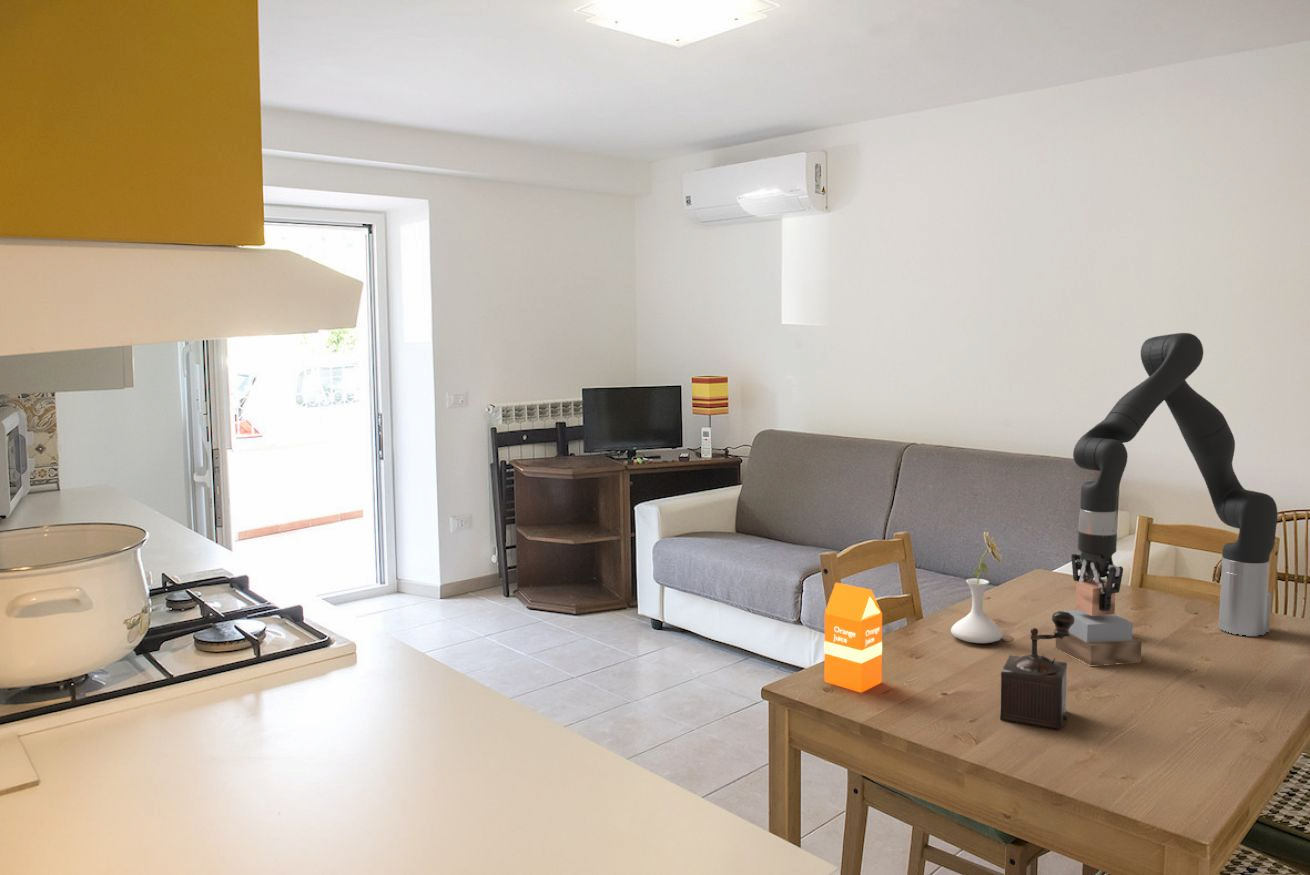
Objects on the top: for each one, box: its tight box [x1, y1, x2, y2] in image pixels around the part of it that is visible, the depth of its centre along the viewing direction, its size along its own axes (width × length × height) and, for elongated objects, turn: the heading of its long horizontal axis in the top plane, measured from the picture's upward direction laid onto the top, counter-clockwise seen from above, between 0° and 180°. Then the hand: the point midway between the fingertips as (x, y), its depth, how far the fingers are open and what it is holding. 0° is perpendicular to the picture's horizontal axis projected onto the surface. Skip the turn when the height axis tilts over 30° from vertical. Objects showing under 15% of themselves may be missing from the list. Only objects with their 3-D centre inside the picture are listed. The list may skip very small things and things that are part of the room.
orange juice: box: [823, 582, 883, 693], centre depth 186 cm, size 8×9×20 cm
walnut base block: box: [1055, 633, 1142, 666], centre depth 200 cm, size 12×12×5 cm
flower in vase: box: [950, 531, 1004, 644], centre depth 211 cm, size 13×11×25 cm
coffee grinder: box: [999, 610, 1074, 731], centre depth 170 cm, size 16×11×18 cm
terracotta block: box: [1074, 580, 1116, 616], centre depth 199 cm, size 6×6×6 cm
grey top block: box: [1062, 609, 1133, 643], centre depth 200 cm, size 10×10×4 cm
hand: (1094, 606), depth 199 cm, fingers closed on terracotta block, 5 cm apart
